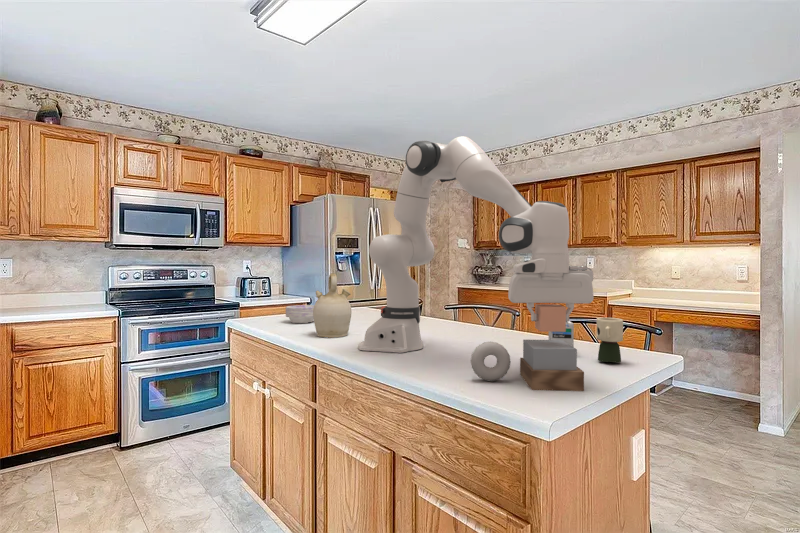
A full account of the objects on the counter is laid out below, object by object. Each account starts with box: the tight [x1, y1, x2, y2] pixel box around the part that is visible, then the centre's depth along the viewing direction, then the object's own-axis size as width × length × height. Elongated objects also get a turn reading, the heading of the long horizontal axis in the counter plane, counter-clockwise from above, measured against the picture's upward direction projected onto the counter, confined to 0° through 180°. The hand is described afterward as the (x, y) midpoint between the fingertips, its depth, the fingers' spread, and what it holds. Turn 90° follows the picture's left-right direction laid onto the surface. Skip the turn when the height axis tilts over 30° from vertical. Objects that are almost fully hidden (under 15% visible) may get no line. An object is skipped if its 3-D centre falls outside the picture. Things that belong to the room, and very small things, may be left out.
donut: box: [470, 341, 511, 382], centre depth 113 cm, size 10×4×10 cm, turn 87°
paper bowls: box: [285, 304, 315, 324], centre depth 216 cm, size 15×15×8 cm
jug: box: [313, 272, 352, 339], centre depth 180 cm, size 15×16×25 cm
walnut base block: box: [519, 357, 585, 392], centre depth 112 cm, size 12×14×5 cm
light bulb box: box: [547, 320, 575, 348], centre depth 146 cm, size 11×7×11 cm, turn 168°
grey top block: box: [522, 339, 578, 370], centre depth 112 cm, size 10×12×5 cm
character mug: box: [595, 317, 624, 364], centre depth 133 cm, size 11×7×13 cm, turn 147°
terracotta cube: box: [534, 303, 567, 332], centre depth 112 cm, size 6×6×6 cm
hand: (549, 321), depth 112 cm, fingers closed on terracotta cube, 6 cm apart
